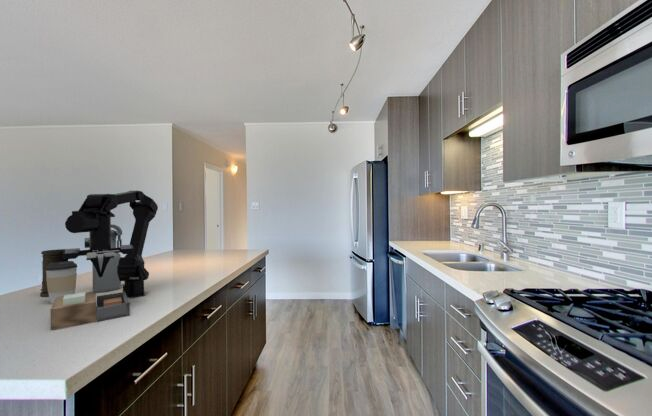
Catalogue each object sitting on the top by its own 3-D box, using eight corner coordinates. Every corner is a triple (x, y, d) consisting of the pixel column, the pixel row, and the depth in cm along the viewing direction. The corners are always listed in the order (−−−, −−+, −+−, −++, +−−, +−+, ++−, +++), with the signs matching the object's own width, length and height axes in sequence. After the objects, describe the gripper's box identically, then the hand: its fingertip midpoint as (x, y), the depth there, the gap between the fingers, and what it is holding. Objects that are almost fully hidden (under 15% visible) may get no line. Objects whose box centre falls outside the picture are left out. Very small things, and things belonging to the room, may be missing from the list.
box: (125, 302, 106) (125, 291, 106) (129, 315, 93) (129, 303, 93) (97, 307, 101) (96, 296, 101) (97, 322, 88) (96, 308, 88)
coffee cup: (59, 298, 114) (58, 259, 114) (84, 297, 114) (83, 259, 114) (38, 305, 105) (37, 264, 105) (65, 304, 105) (64, 263, 105)
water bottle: (124, 285, 132) (123, 223, 132) (119, 290, 123) (118, 224, 123) (96, 288, 127) (95, 224, 127) (89, 293, 119) (88, 225, 119)
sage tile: (85, 298, 92) (85, 292, 92) (85, 302, 88) (85, 295, 88) (64, 301, 89) (64, 295, 89) (62, 305, 85) (62, 299, 85)
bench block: (95, 308, 101) (95, 290, 101) (95, 321, 88) (95, 302, 88) (56, 315, 95) (56, 296, 95) (50, 330, 82) (50, 309, 82)
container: (35, 296, 117) (34, 251, 117) (62, 290, 125) (62, 248, 125) (48, 298, 113) (47, 252, 114) (75, 291, 122) (74, 249, 122)
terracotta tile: (103, 300, 101) (103, 305, 101) (103, 303, 97) (103, 309, 97) (121, 297, 104) (121, 302, 104) (121, 300, 100) (122, 306, 100)
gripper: (131, 228, 110) (131, 269, 110) (65, 231, 99) (65, 277, 99) (134, 229, 102) (134, 274, 101) (62, 233, 90) (62, 283, 90)
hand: (100, 277), depth 98 cm, fingers closed
